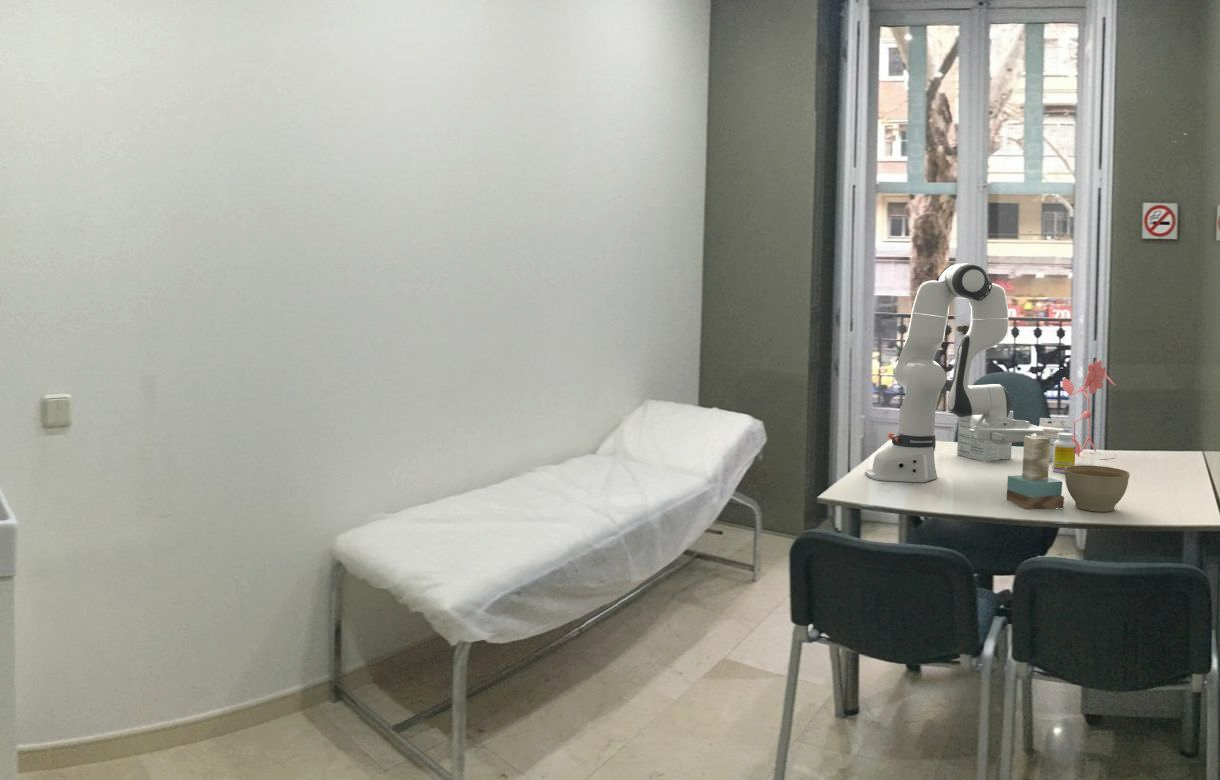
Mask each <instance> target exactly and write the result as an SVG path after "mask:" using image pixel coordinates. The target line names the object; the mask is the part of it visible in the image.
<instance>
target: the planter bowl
mask: <svg viewBox="0 0 1220 780" xmlns="http://www.w3.org/2000/svg"><path fill="white" fill-rule="evenodd" d="M1064 471H1065V473H1064V479H1065V485H1066V488H1067V491H1068V493H1069V495H1070V497H1071V498H1072V500H1073V501H1074V502H1075V507H1076V508H1078V509H1080V510H1084V511H1089V512H1097V513H1099V512H1101V513H1102V512H1103V513H1104V512H1105V513H1107V512H1108V513H1109V512H1113V511H1115V508H1116V505H1117V504H1118V503H1119V502H1120V501H1121V500H1122V499H1123V497H1124V496H1125V493H1126V490H1127V488H1128V484H1129V479H1130V476H1131V475H1130V472H1129V471H1127V470H1124V469H1120V468H1116V467H1111V466H1103V465H1102V466H1101V465H1092V464H1091V465H1089V464H1088V465H1087V464H1081V465H1080V464H1076V465H1074V466H1068V467H1066V468H1065V469H1064Z"/></svg>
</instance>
